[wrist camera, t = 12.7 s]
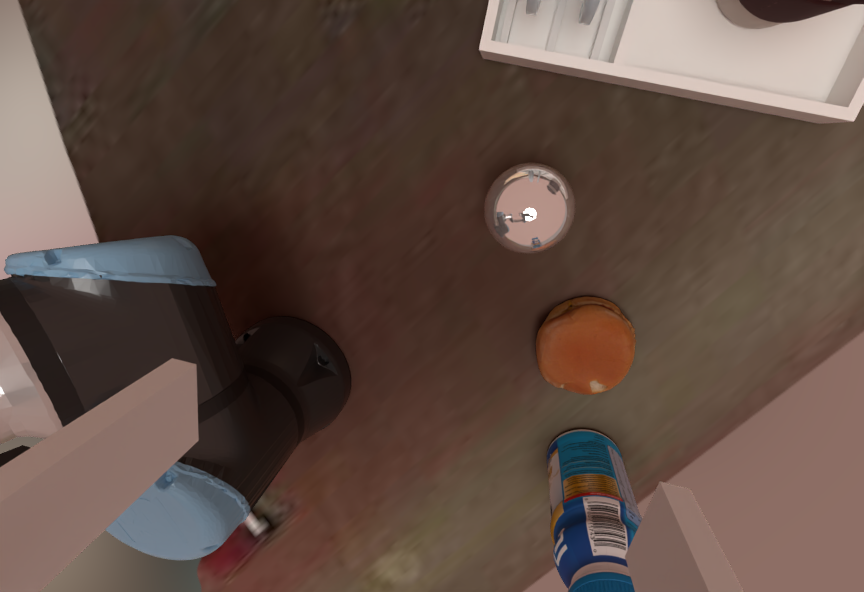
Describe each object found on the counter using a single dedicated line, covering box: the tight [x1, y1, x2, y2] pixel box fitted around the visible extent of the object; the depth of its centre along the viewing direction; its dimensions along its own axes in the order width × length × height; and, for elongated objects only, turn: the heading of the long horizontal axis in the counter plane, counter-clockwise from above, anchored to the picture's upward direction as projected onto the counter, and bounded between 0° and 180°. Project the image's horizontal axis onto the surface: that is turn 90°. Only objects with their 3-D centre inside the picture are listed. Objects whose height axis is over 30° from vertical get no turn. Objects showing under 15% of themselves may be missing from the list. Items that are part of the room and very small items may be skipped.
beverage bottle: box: [547, 429, 642, 592], centre depth 40 cm, size 8×8×20 cm
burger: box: [536, 297, 636, 395], centre depth 43 cm, size 10×9×5 cm
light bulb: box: [484, 163, 576, 254], centre depth 36 cm, size 7×7×12 cm
